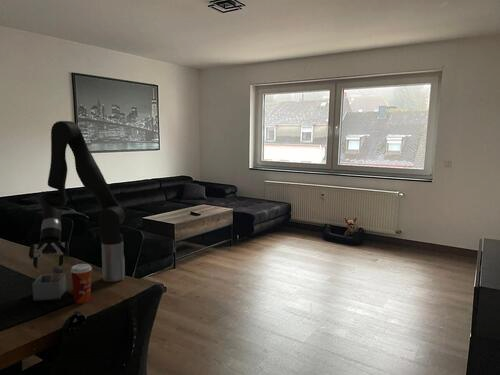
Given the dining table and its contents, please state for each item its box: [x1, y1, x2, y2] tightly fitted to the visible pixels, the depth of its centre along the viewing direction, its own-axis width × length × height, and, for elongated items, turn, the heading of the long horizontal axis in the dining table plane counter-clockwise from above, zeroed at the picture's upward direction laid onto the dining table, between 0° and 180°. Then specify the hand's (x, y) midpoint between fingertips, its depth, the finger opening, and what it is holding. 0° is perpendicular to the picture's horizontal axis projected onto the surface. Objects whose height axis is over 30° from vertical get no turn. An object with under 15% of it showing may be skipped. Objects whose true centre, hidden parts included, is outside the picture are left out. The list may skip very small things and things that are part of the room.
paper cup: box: [70, 263, 93, 304], centre depth 144 cm, size 8×8×14 cm
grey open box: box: [31, 273, 67, 302], centre depth 149 cm, size 9×9×7 cm
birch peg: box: [50, 266, 64, 282], centre depth 149 cm, size 4×4×10 cm
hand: (48, 266), depth 146 cm, fingers open, 8 cm apart
